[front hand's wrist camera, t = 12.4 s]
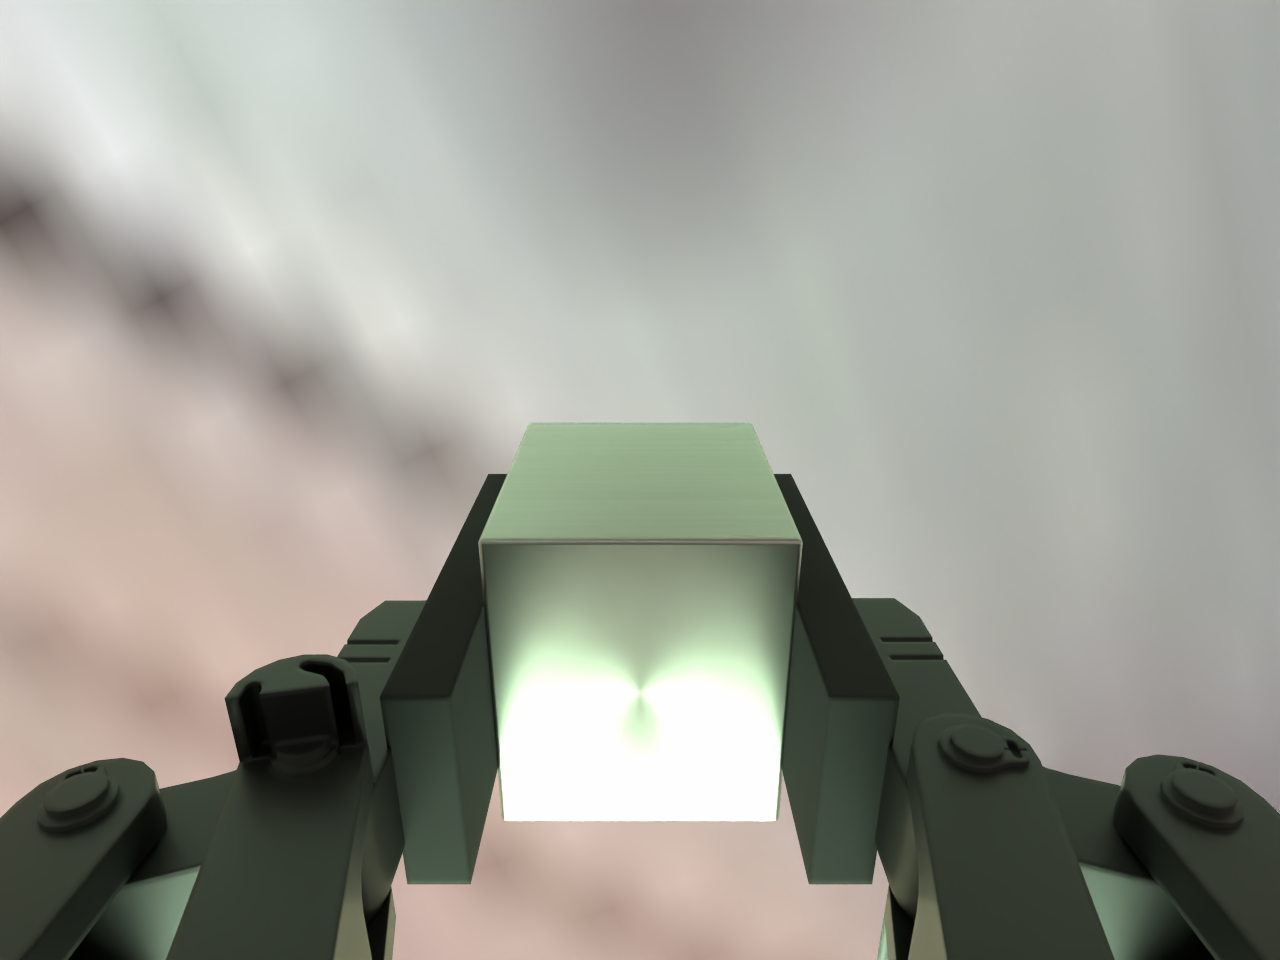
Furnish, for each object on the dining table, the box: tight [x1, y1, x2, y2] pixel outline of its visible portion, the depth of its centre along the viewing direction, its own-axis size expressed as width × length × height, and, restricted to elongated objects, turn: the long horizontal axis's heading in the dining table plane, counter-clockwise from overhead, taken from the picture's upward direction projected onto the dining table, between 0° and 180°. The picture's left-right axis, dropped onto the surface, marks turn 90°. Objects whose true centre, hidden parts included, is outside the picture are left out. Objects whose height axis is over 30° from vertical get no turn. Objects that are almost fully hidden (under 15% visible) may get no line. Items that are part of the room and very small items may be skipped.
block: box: [478, 423, 803, 821], centre depth 13 cm, size 5×4×5 cm
